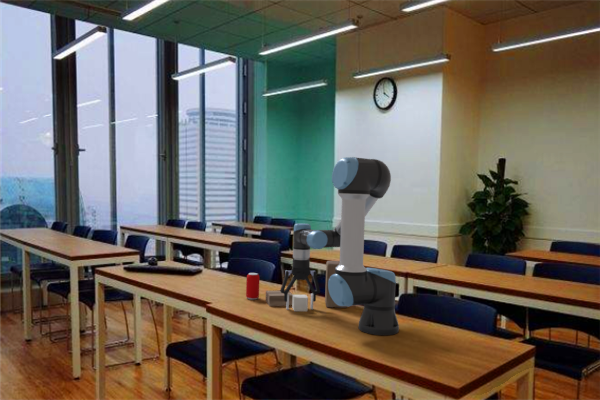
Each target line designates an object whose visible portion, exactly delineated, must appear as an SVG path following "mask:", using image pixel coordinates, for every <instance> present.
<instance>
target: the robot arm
mask: <svg viewBox="0 0 600 400" xmlns="http://www.w3.org/2000/svg"><path fill="white" fill-rule="evenodd" d="M332 169H333V170H332V174H331V182H332V183H333V184H332V185H333V187H334V188H335V189H336V190H337V194H338V196H339V197H340V198H341V214H340V221H339V222H338V223H337V225H336V226H335V228H334V229H312V226H311V224H309V223H301V222H299V223H295V224H294V225H293V232H292V233H293V234H292V235H293V238H292V239H293V241H292V246H293V247H292V258H293V259H292V267H291V270H287V269H286V270H284V271H285V272H284V274H285V275H284V278H283V280H282V283H281V284H282V285H281V287H280V289H279V290H280V291H281V293H284V301H285V302H286V306H285V309H286V310H289V308H290V306H289V294H288V292H289V291H291V289H292V287H293V285H294V284H295V282H296V281H300V280H301V281H306V283H307V285H308V287H309V289H310V290H311V292H312V293H310V307H309V308H310V310H314V303H315V302H316V301H317V294H320V293H321V289H320V286H319V281H318V278H317V271H316V270H311V269H310V266H311V265H310V264H311V263H310V262H311V260H310V258H311V249H313V250H321V249H324V248H325V249H326V248H339V261H340V263H339V265H338V266H337V267H336V268H335V274H333V275H331V276H330V279H329V281H328V289H329V293H330V296H331V298H332V300H333V301H334V302H335V303H336V304H337V305H339V306H347V308H348V307H352V306H361V305H363V309H362V313H361V315H360V319H359V321H358V329H359V330H360V331H361V332H363V333H366V334H370V335H376V336H391V335H392V336H393V335H395V334H398V333H399V331H400V330H399V329H400V326H399V325H400V324H399V322H398V318H397V315H396V289H397V288H396V287H397V286H396V285H397V282H396V278H397V277H396V274H395V272H393V271H391V270H387V269H382V268H375V267H365V265H364V250H365V249H364V248H365V246H364V245H365V226H366V225H365V224H366V223H365V220H366V218H365V217H366V216H367V215H368V213H369V212H370V211H371V209H372V208H373V207H374V206H375V204H376V203H377V201H379V199H383V197H384V196H385V194H387V192H388V190H389V188H390V185H391V180H392V175H391V171H390V169H389V166H388V165H387V164H385V162H383V161H381V160H380V159H376V158H362V157H354V156H352V157H343V158H340V159H339V160H337V162H336V164H335V165H334V167H333V168H332ZM291 274H292V277H291V280H290V282H289V284H288V285H287V282H288V280H289V277H290V275H291ZM310 274H311V277H312V278H313V282H314V286H315V288H314V286H313V285H312V282H311V281H310V279H309V278H308V277H309V276H310ZM286 286H287V287H286Z"/></svg>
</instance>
